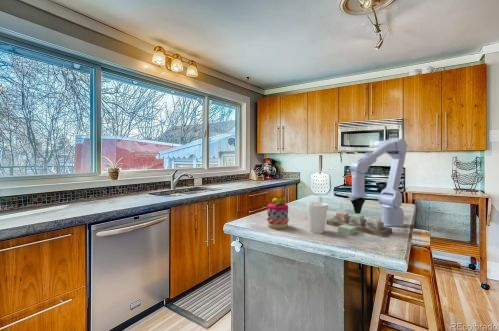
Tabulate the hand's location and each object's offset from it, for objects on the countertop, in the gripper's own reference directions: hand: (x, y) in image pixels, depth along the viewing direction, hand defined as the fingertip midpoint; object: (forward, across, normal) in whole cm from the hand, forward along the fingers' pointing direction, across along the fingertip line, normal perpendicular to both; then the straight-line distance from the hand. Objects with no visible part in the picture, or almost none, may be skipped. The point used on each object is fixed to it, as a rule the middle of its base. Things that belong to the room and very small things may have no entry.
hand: (357, 213), depth 124 cm
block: (+7, +10, 0) cm, 12 cm away
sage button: (+4, 0, 0) cm, 4 cm away
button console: (+7, 0, 0) cm, 7 cm away
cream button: (+4, 0, +8) cm, 9 cm away
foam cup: (+8, +20, -10) cm, 23 cm away
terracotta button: (+4, 0, -8) cm, 9 cm away
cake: (+8, +28, -28) cm, 40 cm away
